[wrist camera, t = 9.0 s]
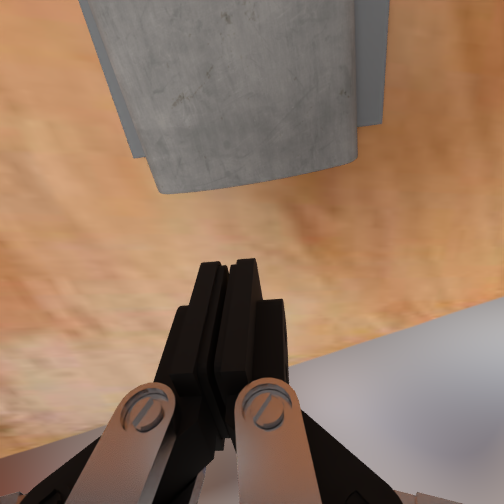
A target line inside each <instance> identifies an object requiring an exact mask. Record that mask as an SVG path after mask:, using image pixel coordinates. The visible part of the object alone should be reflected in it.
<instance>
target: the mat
mask: <svg viewBox="0 0 504 504" xmlns="http://www.w3.org/2000/svg"><path fill="white" fill-rule="evenodd" d="M78 1H79V3H80V6H81V9H82V12H83V15H84V18H85V21H86V23H87V26H88V29H89V32H90V35H91V38H92V41H93V43H94V46H95V49H96V52H97V55H98V58H99V61H100V64H101V66H102V69H103V72H104V75H105V78H106V81H107V84H108V86H109V89H110V92H111V95H112V98H113V101H114V104H115V106H116V109H117V112H118V115H119V118H120V121H121V124H122V126H123V129H124V132H125V135H126V138H127V141H128V144H129V147H130V149H131V152H132V155H133V158H141V157H146V156H145V154H144V151H143V148H142V145H141V143H140V140H139V137H138V135H137V132H136V129H135V127H134V124H133V121H132V119H131V116H130V113H129V111H128V108H127V105H126V103H125V100H124V97H123V95H122V92H121V89H120V87H119V84H118V81H117V79H116V76H115V73H114V70H113V68H112V65H111V62H110V60H109V57H108V54H107V52H106V49H105V46H104V44H103V41H102V38H101V36H100V33H99V30H98V28H97V25H96V22H95V20H94V17H93V14H92V12H91V9H90V6H89V3H88V1H87V0H78ZM354 16H355V60H356V104H357V127H362V126H369V125H377V124H382V116H383V100H384V83H385V67H386V50H387V33H388V17H389V0H354Z"/></svg>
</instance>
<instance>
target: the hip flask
mask: <svg viewBox="0 0 504 504" xmlns="http://www.w3.org/2000/svg"><path fill="white" fill-rule="evenodd" d="M87 1H88V3H89V6H90V9H91V12H92V14H93V17H94V20H95V22H96V25H97V28H98V30H99V33H100V36H101V38H102V41H103V44H104V46H105V49H106V52H107V54H108V57H109V60H110V62H111V65H112V68H113V70H114V73H115V76H116V79H117V81H118V84H119V87H120V89H121V92H122V95H123V97H124V100H125V103H126V105H127V108H128V111H129V113H130V116H131V119H132V121H133V124H134V127H135V129H136V132H137V135H138V137H139V140H140V143H141V145H142V148H143V151H144V154H145V156H146V159H147V162H148V164H149V167H150V170H151V172H152V175H153V178H154V180H155V183H156V186H157V188H158V191H159V192H160V193H162V194H176V193H188V192H197V191H206V190H214V189H221V188H228V187H235V186H241V185H247V184H253V183H259V182H265V181H271V180H276V179H282V178H287V177H292V176H297V175H301V174H306V173H311V172H315V171H319V170H324V169H328V168H332V167H336V166H340V165H344V164H348V163H350V162H352V161H354V160H355V159H356V158H357V157H358V148H357V104H356V60H355V16H354V0H87Z"/></svg>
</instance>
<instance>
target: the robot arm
mask: <svg viewBox="0 0 504 504" xmlns="http://www.w3.org/2000/svg"><path fill="white" fill-rule="evenodd" d="M288 376H289V373H288V348H287V330H286V319H285V311H284V303H283V299H272V300H263V298H262V292H261V286H260V280H259V274H258V269H257V263H256V259H255V258H250V259H239V260H237V263H236V264H235V265H231V267H230V273H229V272H228V268H227V266H226V265H223V266H221V263H220V262H219V261H216V262H204V263H201V265H200V268H199V272H198V275H197V279H196V282H195V286H194V289H193V292H192V296H191V299H190V303H189V305H187V306H180V307H179V308H178V309H177V312H176V314H175V318H174V321H173V324H172V327H171V330H170V333H169V336H168V339H167V342H166V345H165V348H164V351H163V354H162V357H161V360H160V364H159V367H158V370H157V373H156V376H155V379H154V382H153V383H147V384H143V385H140V386H138V387H137V388H135V389H133V390H132V391H130V392H129V393H128V394H127V395H126V396H125V397H124V398H123V399H122V401H121V402H120V404H119V405H118V406H117V408H116V410H115V412H114V414H113V416H112V417H111V419H110V421H109V423H108V425H107V427H106V429H105V430H104V432H103V434H102V435H101V436H100V437H99V438H98V439H96V440H95V441H94V442H92V443H91V444H90V445H88V446H87V447H86V448H85V449H83V450H82V451H81V452H79V453H78V454H77V455H76V456H74V457H73V458H72V459H70V460H69V461H68V462H66V463H65V464H64V465H62V466H61V467H60V468H59V469H58V470H56V471H55V472H53V473H52V474H51V475H49V476H48V477H47V478H46V479H44V480H43V481H42V482H40V483H39V484H38V485H37V486H35V487H34V488H33V489H32V490H31V491H30V492H29V493H28V494H22V493H21V492H16V493H13V494H9V495H6V496H2V497H0V504H197V503H198V499H199V496H200V492H201V489H202V485H203V482H204V478H205V471H206V466H207V465H208V464H209V463H210V462H211V461H212V460H213V459H214V453H215V451H223V450H224V441H225V438H230V437H231V440H232V443H233V445H234V448H235V451H236V454H237V468H238V486H239V504H462V503H458V502H454V501H450V500H446V499H442V498H438V497H434V496H430V495H426V494H422V493H419V492H417V493H416V496H415V495H411V494H408V493H403V492H399V491H396V490H393V489H392V488H391V487H390V486H389V485H388V484H387V483H386V482H385V481H384V480H382V479H381V478H380V477H379V476H378V475H377V474H375V473H374V472H373V471H372V470H371V469H370V468H368V467H367V466H366V465H365V464H364V463H363V462H361V461H360V460H359V459H358V458H357V457H356V456H355V455H353V454H352V453H351V452H350V451H349V450H348V449H346V448H345V447H344V446H343V445H342V444H341V443H339V442H338V441H337V440H336V439H335V438H334V437H332V436H331V435H330V434H329V433H328V432H327V431H326V430H324V429H323V428H322V427H321V426H320V425H319V424H317V423H316V422H315V421H314V420H313V419H312V418H310V417H309V416H308V415H307V414H306V413H304V411H302V410H301V409H300V404H299V400H298V398H297V396H296V393H295V391H294V390H293V389H292V388H291V387H290V385H289V377H288Z"/></svg>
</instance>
